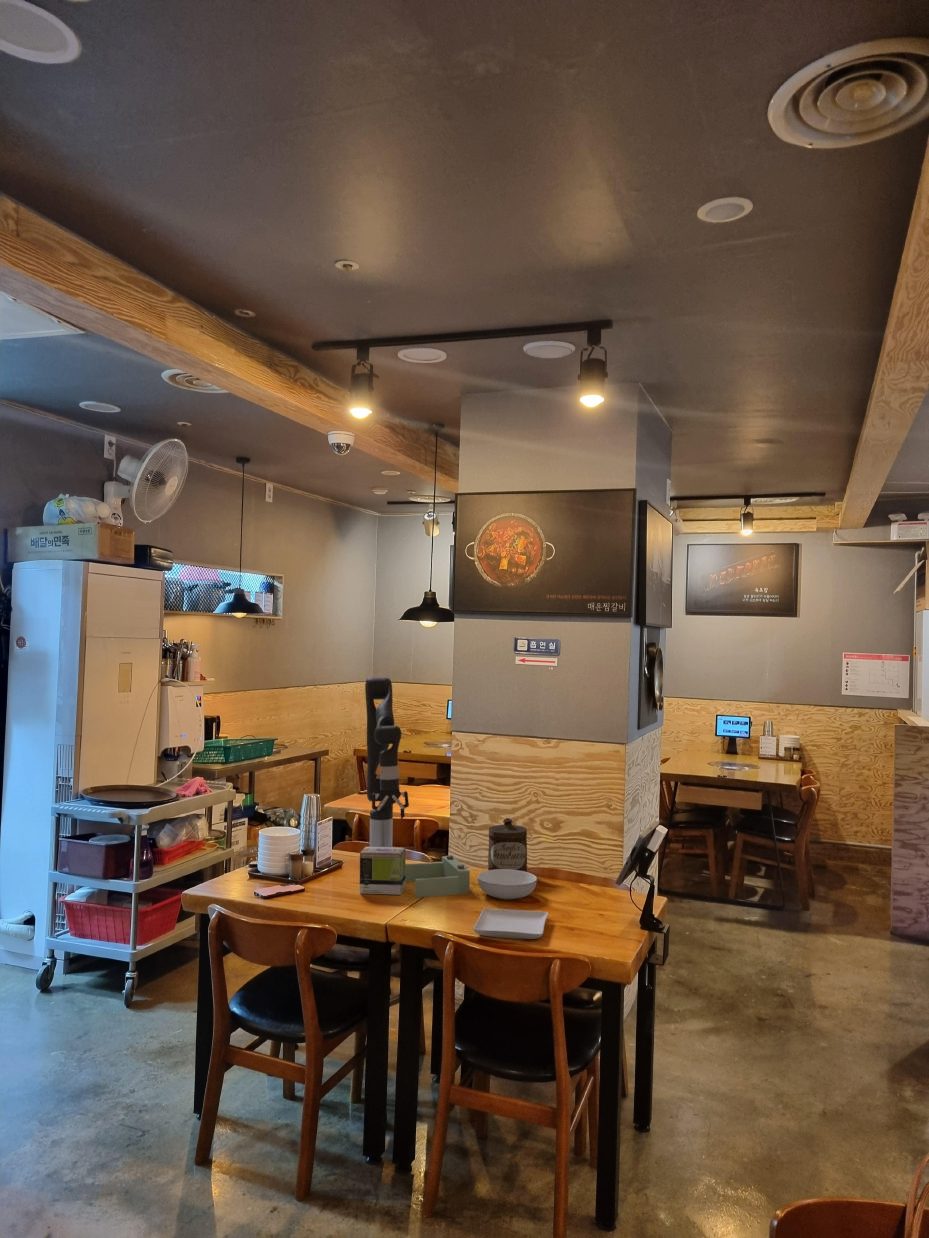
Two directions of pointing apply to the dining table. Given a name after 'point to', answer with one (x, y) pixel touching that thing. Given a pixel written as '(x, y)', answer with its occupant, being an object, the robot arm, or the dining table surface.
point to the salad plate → (511, 923)
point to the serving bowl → (507, 883)
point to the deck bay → (439, 877)
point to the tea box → (382, 870)
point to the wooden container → (507, 847)
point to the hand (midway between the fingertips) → (390, 819)
